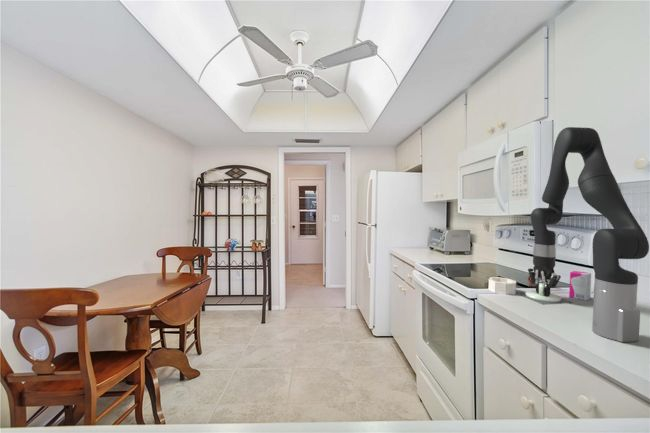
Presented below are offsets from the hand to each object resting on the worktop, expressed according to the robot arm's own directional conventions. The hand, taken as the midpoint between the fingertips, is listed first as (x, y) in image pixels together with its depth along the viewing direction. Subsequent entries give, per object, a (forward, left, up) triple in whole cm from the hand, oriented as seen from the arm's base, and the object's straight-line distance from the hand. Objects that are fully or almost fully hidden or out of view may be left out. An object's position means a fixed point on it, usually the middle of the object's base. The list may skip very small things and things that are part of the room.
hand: (542, 294), depth 120 cm
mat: (0, 0, -2) cm, 2 cm away
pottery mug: (+15, -13, -2) cm, 20 cm away
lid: (0, 0, -1) cm, 1 cm away
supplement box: (-2, -16, -2) cm, 16 cm away
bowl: (+11, +10, -2) cm, 15 cm away
